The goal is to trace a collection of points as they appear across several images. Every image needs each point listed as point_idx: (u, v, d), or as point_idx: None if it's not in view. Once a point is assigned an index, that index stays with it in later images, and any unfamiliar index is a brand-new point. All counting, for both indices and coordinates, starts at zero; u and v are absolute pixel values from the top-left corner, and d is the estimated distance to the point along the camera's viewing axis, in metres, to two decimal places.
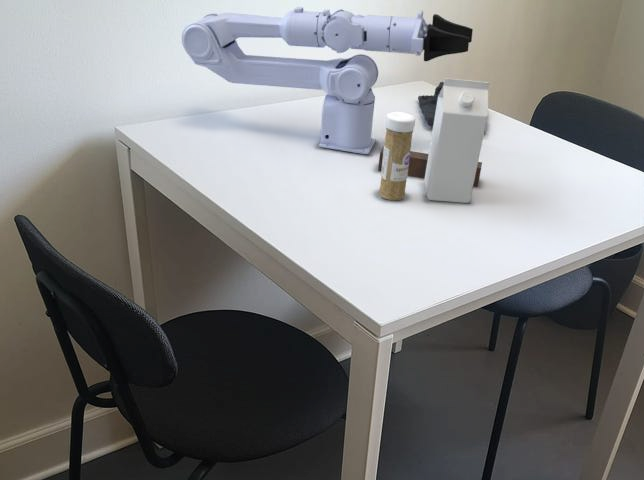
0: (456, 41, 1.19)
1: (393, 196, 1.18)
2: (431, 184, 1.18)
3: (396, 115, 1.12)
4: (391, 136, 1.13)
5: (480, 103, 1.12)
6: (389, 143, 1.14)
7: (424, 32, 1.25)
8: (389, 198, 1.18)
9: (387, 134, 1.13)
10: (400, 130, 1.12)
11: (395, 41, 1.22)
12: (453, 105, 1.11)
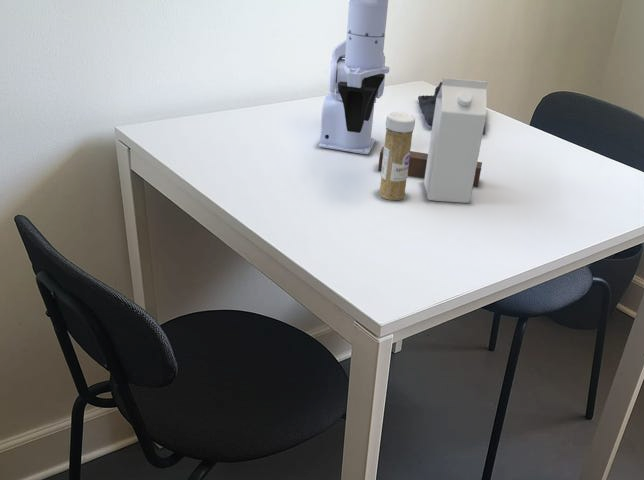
0: (357, 119, 1.10)
1: (393, 196, 1.18)
2: (431, 184, 1.18)
3: (396, 115, 1.12)
4: (391, 136, 1.13)
5: (478, 102, 1.12)
6: (389, 143, 1.14)
7: None
8: (389, 198, 1.18)
9: (387, 134, 1.13)
10: (400, 130, 1.12)
11: (358, 43, 1.06)
12: (452, 104, 1.12)
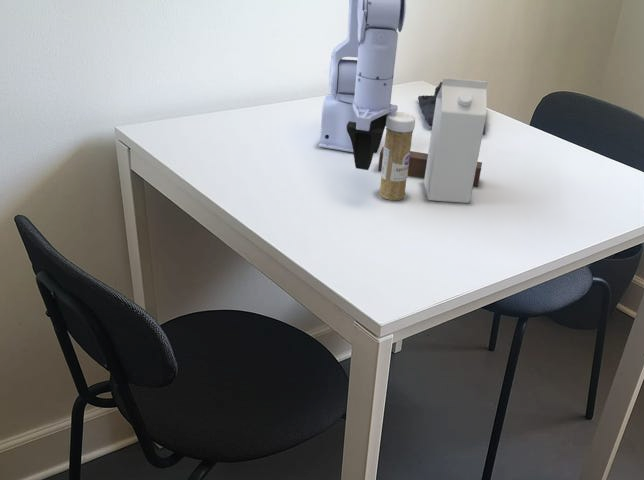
0: (365, 157, 1.13)
1: (393, 196, 1.18)
2: (431, 184, 1.18)
3: (396, 115, 1.12)
4: (391, 136, 1.13)
5: (478, 102, 1.12)
6: (389, 143, 1.14)
7: None
8: (389, 198, 1.18)
9: (387, 134, 1.13)
10: (400, 130, 1.12)
11: (367, 85, 1.08)
12: (452, 104, 1.12)
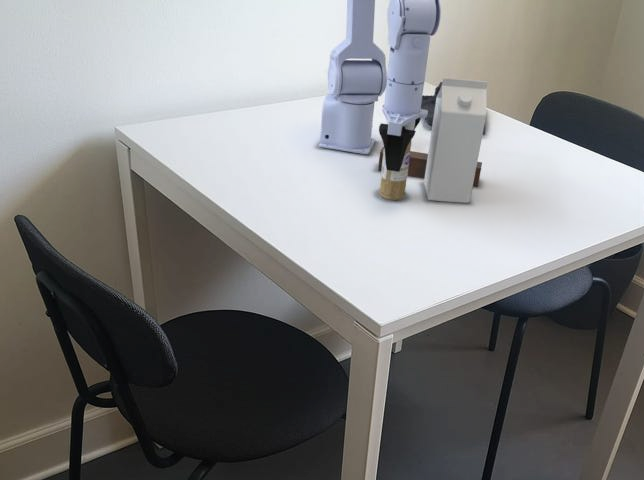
0: (396, 159, 1.14)
1: (393, 196, 1.18)
2: (431, 184, 1.18)
3: None
4: None
5: (478, 102, 1.12)
6: None
7: None
8: (389, 198, 1.19)
9: None
10: None
11: (399, 90, 1.08)
12: (452, 104, 1.12)
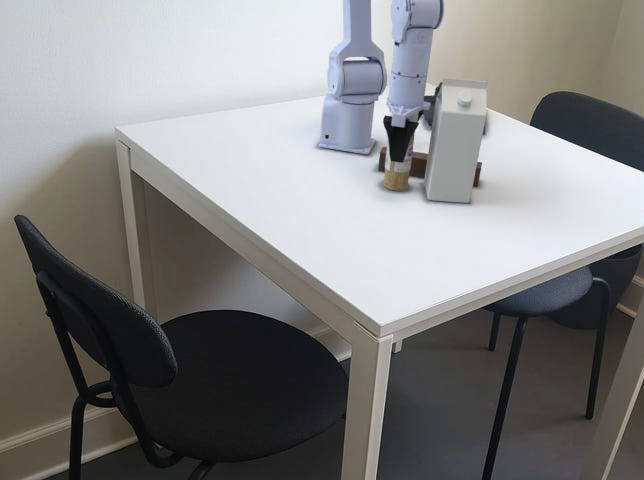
0: (400, 150, 1.17)
1: (397, 186, 1.22)
2: (431, 184, 1.18)
3: None
4: None
5: (478, 102, 1.12)
6: None
7: None
8: (393, 188, 1.22)
9: None
10: None
11: (402, 83, 1.11)
12: (452, 104, 1.12)
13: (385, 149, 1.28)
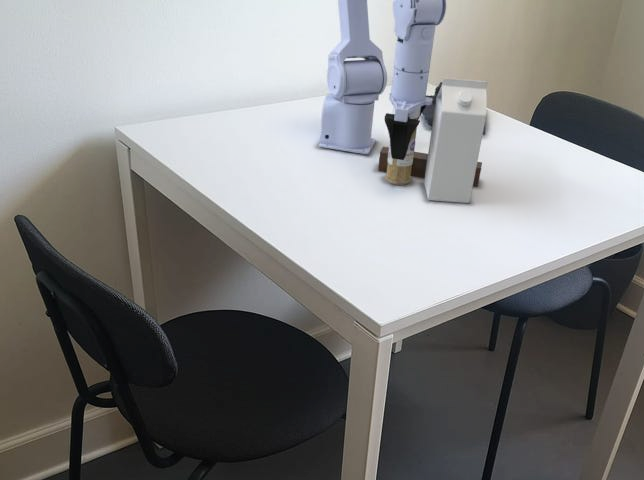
0: (401, 148, 1.18)
1: (399, 181, 1.24)
2: (431, 184, 1.18)
3: None
4: None
5: (478, 102, 1.12)
6: None
7: None
8: (395, 182, 1.24)
9: None
10: None
11: (405, 78, 1.13)
12: (452, 104, 1.12)
13: (385, 149, 1.28)
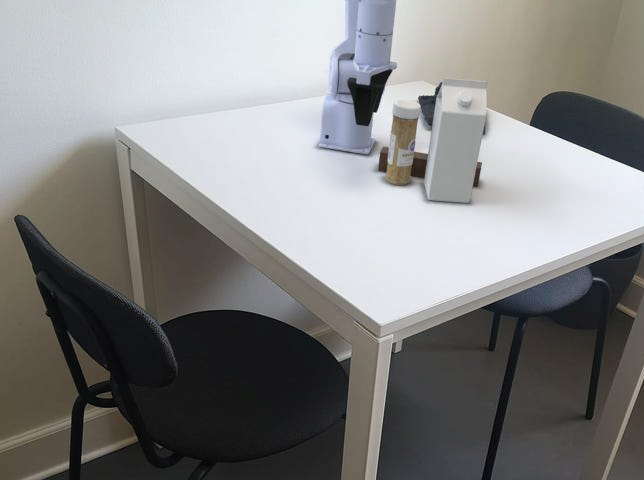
0: (365, 113, 1.15)
1: (399, 181, 1.24)
2: (431, 184, 1.18)
3: (403, 103, 1.18)
4: (397, 123, 1.18)
5: (478, 102, 1.12)
6: (395, 130, 1.19)
7: None
8: (395, 182, 1.24)
9: (394, 121, 1.19)
10: (406, 117, 1.17)
11: (367, 41, 1.11)
12: (452, 104, 1.12)
13: (385, 149, 1.28)
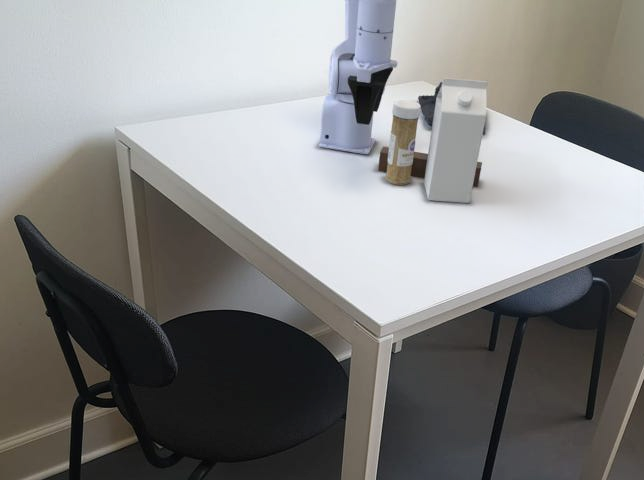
0: (366, 112, 1.15)
1: (399, 181, 1.24)
2: (431, 184, 1.18)
3: (403, 103, 1.18)
4: (397, 123, 1.18)
5: (478, 102, 1.12)
6: (395, 130, 1.19)
7: None
8: (395, 182, 1.24)
9: (394, 121, 1.19)
10: (406, 117, 1.17)
11: (368, 39, 1.10)
12: (452, 104, 1.12)
13: (385, 149, 1.28)
